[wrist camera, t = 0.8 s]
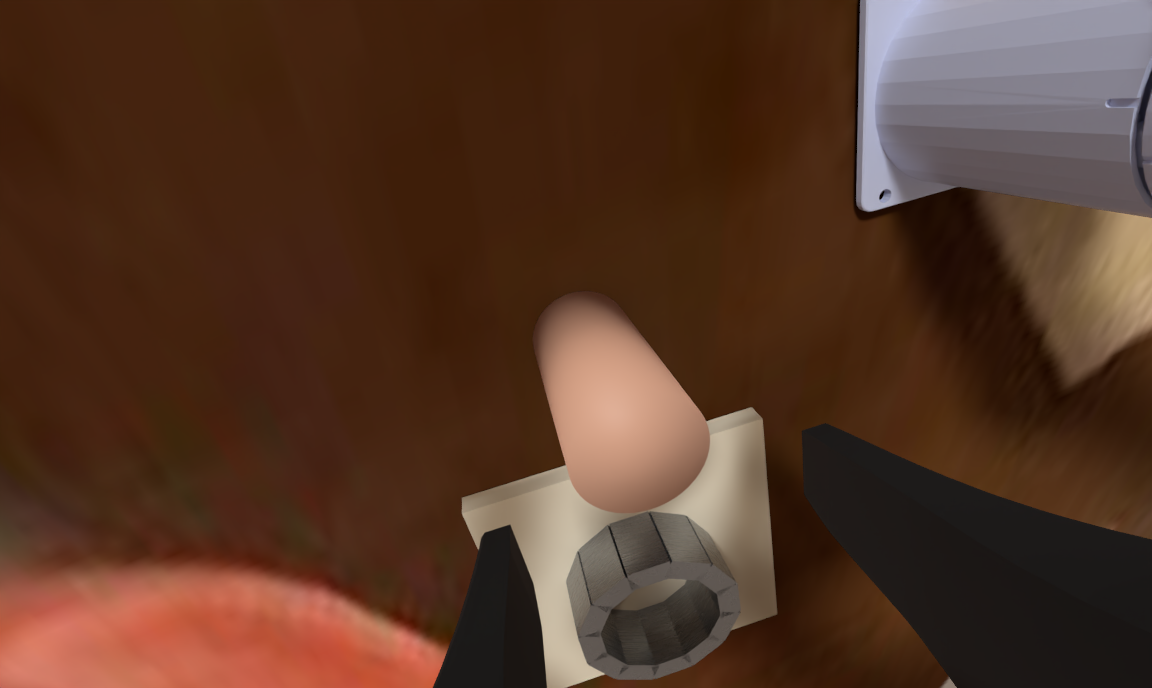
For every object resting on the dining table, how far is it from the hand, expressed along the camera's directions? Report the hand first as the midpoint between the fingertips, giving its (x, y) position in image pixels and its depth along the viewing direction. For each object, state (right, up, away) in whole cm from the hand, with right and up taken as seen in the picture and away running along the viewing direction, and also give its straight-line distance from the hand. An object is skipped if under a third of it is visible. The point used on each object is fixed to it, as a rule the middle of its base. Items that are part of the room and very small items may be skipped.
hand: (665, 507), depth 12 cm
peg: (-2, +4, +9) cm, 10 cm away
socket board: (+1, -7, +15) cm, 16 cm away
